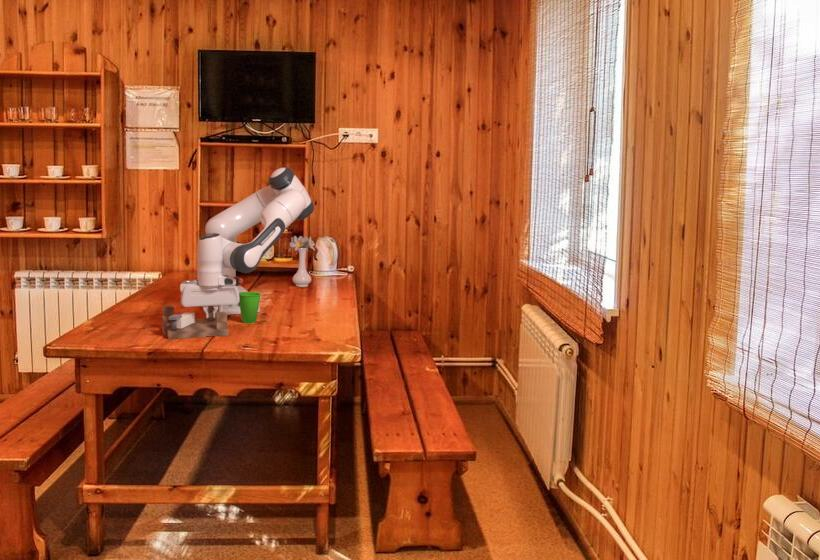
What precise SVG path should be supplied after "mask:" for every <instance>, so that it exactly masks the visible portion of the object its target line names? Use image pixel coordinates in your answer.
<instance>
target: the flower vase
mask: <svg viewBox="0 0 820 560" xmlns="http://www.w3.org/2000/svg"><path fill="white" fill-rule="evenodd" d="M288 245H289V249H288V252H290V251H291V250H292V249H294V251H298V254H299V255H298V256H299V258H298V269H297V271H296V273H295V274H294V275H293V277H292V283H294V284H295V287H299V288H305V287H306V288H307V287H309V284H310V283H312V277H311V275H310V273H308V270H307V265H306V256H307V255H306V254H307V253H309V248H310V249H312V250H313V251H314V252H315V251H316V249H315V247H314V246H315V245H316V244H315V242H314V240H312V237H311V236H309V238H308V237H307V236H306V235H305V236H304V237H303V236H302V235H300V236H299V237H297V236H296V235H294V236H293V237H291V241H290V242H289V244H288Z"/></svg>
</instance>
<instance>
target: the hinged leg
mask: <svg viewBox="0 0 820 560" xmlns="http://www.w3.org/2000/svg"><path fill="white" fill-rule="evenodd" d="M195 319H196V312H190V311H189V312H187V311H186V312H183V313H181V314H175V313H174V315H172V316H169V320H176V322H177V328H180V329H182V328H184V327H186V326H188V325H190V324H193V323H195Z"/></svg>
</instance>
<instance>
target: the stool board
mask: <svg viewBox="0 0 820 560" xmlns="http://www.w3.org/2000/svg"><path fill="white" fill-rule="evenodd" d="M213 310H214V308H213V306H208V313H212V312H213ZM174 314H175V307H174V305H170V304H169V305H162V316H161V333H162V335H163V334H164V335H163V336H164V337H167V339H168V340H175V339H176V338H180V339H192V338H191V337H199V338H207V337H206V336H218V337H228V336H229V328H228V315H227V313H226V312H219V306H218V310H217V311H216V312H215V318H195V323H193V324H190V325H188V326H186V327H184V328H182V329H180V328H177V322H176V320H169V316H172V315H174ZM165 335H167V336H165Z"/></svg>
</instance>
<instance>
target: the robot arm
mask: <svg viewBox="0 0 820 560" xmlns="http://www.w3.org/2000/svg"><path fill="white" fill-rule="evenodd" d="M268 182H269V184H268V185H266V186H264V187H262V188H261V189H259V190H257V191H255V192H254V193H252V194H250V195H248V196H246V197H245V198H243V199H242V200H240V201H238V202H237V203H235V204H233V205H232V206H229V207H228V208H226V209H225V210H222V211H221V212H219V213H217V214H216V215H214V216H213V217H211V218H209V219H208V221H207V222H206V224H205V228H204V231H205V234H203V235H201V236H200V237H199V239H198V241H197V248H196V249H197V250H196V260H197V263H198V265H197V271H196V272H197V273H196V274H197V275H196V277H197V279H192V280H184V281H182V282H180V285H179V292H180V293H181V294H180V305H181V306H182V307H184V308H190V307H191V308H192V307H202V309H203V312H204V313H205V319H208V318H215V312H216V311H217V310H218V306H219V312H226V313H227V316H228V315H229V316H230V315H241V311H240V304H239V293H240V292H249V291H248V290H247V289H246V288H245V287H243V286H241V284H243V283H244V279H243V278H242V277H239V276H237V275H236V271H237V272H240V273H242V274H249V273H252V272H254V271H255V270H256V269H257V268H258V266H259V264H260V263H261V260H262V258H263V257H264V256H265V254H266V253H267V252H268V251H269V250H270V249H271V248H272V246H273V245H275V243H276V242H277V241H278V240H280V238H281V237H282V235H284V232H285V230H286V229H287V228H288V227H289V226H290V225H291V224H292V223H294V222H295V221H302V220H305V219H307V218H309V217H310V216H311V215H312V214H313V213H314V210H315V204H314V202H313V199H311V197H310V194H309V193H308V191H307V189H306V187H305V186H304V185H303V183H302V182H301V181H300V179H299V178H298V177H297V175H296V173H295V172H294V171H293V169H291V168H290V167H287V166H284V167H279V168H277V169H276V170H274V171H272V173H271V174H270V176H269V177H268ZM260 222H261V224H262V227H263V229H262V230H261V232H260V233H258V235H257V236H256V237H255V238H254V239H253V240H251V241H250V242H247V243H239V242H237V241H238V236H239V235H241V234H243V233H244V232H246V231H247V230H249V229H251V228H252V227H254V226H255V225H257V224H259V223H260ZM208 306H213V308H214V310H213V312H212V313H208ZM259 312H261V307H260V306H259V307H258V313H259Z"/></svg>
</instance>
